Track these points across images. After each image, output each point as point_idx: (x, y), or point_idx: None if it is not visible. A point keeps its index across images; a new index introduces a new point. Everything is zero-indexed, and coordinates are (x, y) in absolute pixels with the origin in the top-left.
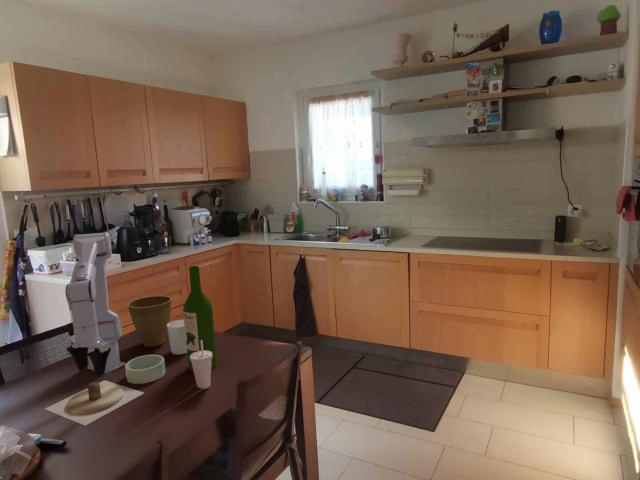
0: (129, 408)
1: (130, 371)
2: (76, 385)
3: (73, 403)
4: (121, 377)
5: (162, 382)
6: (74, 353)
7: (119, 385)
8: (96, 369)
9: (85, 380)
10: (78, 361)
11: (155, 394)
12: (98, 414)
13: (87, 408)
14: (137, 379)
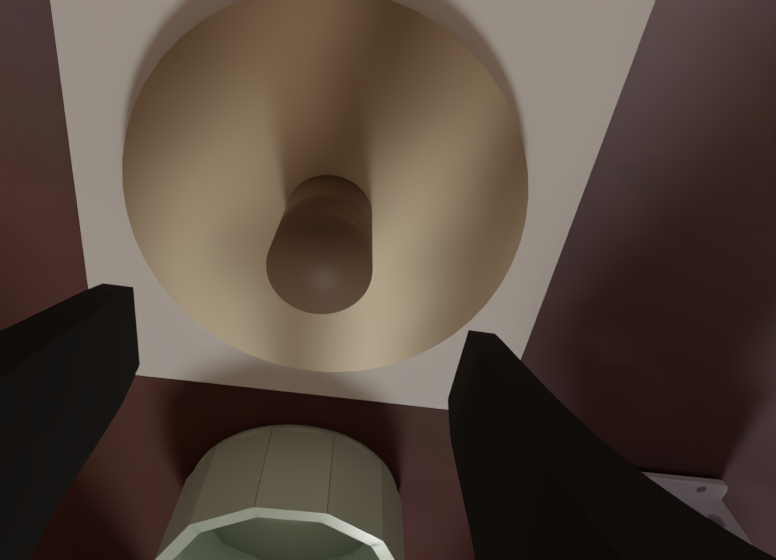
0: (17, 207)
1: (283, 498)
2: (658, 333)
3: (434, 97)
4: (433, 462)
5: (143, 478)
6: (580, 541)
7: (345, 394)
8: (7, 328)
9: (639, 390)
10: (508, 422)
11: None
12: (111, 47)
13: (237, 63)
14: (246, 457)
